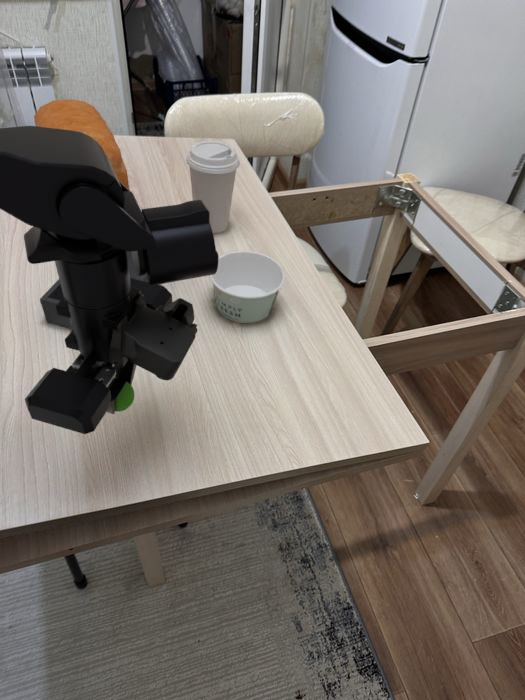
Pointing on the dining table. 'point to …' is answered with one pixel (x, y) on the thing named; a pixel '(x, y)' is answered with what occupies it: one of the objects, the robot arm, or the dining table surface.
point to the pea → (125, 398)
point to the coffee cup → (213, 179)
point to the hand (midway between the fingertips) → (118, 399)
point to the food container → (246, 285)
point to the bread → (83, 128)
